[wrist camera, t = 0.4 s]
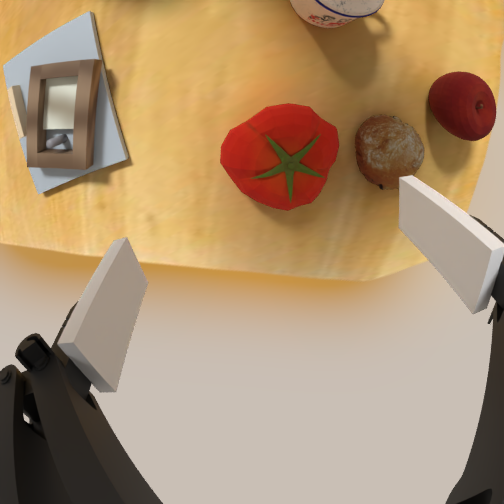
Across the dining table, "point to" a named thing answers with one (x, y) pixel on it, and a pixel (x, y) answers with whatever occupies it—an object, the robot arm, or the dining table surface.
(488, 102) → the apple
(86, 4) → the dining table surface
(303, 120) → the tomato
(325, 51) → the dining table surface
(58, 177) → the wall panel
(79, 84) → the walnut frame
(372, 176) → the bread roll
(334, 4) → the teacup with lid
